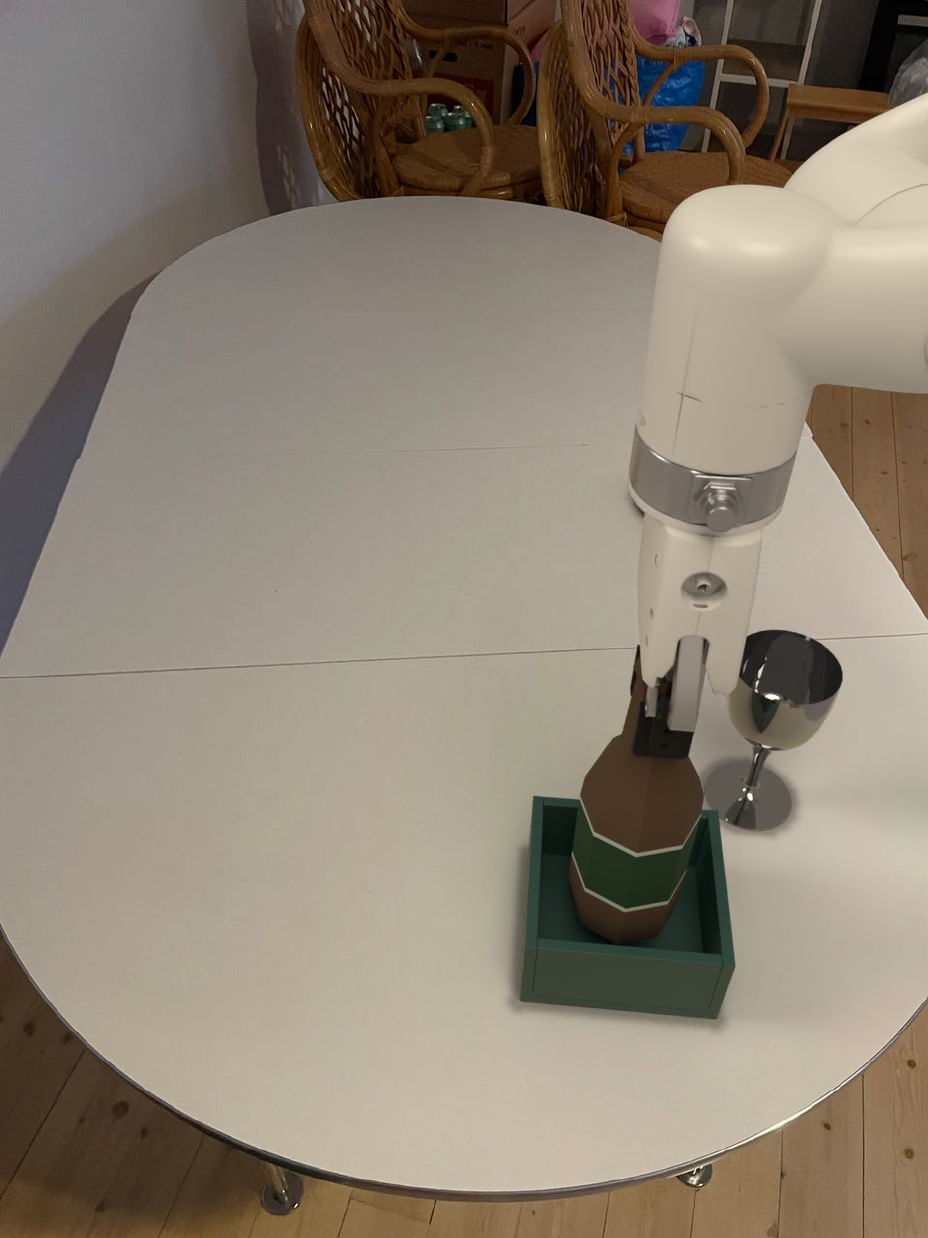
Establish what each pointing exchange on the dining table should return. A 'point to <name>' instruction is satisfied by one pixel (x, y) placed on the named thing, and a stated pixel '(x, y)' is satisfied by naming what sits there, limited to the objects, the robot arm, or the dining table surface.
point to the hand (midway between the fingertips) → (657, 722)
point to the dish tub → (632, 972)
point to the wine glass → (772, 722)
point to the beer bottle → (633, 835)
